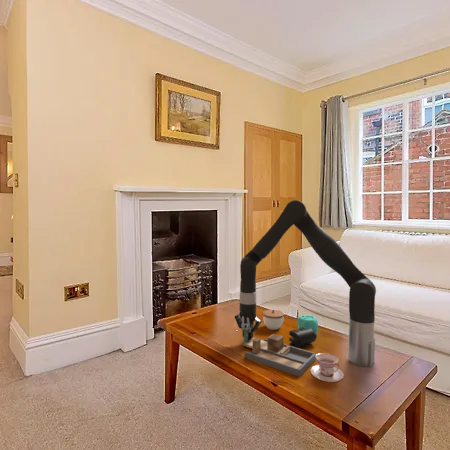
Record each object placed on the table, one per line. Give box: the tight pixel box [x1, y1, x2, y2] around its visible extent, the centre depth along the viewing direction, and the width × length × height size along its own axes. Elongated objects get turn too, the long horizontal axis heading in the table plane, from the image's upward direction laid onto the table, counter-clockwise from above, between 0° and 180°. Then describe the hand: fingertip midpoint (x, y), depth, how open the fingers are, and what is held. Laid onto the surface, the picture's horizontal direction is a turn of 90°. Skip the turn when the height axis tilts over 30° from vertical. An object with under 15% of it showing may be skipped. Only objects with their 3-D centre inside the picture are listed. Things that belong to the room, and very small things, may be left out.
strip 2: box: [252, 337, 302, 369], centre depth 126 cm, size 20×5×6 cm, turn 54°
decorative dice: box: [297, 314, 319, 335], centre depth 156 cm, size 8×8×8 cm
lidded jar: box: [262, 309, 285, 331], centre depth 163 cm, size 11×11×9 cm
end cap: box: [288, 327, 317, 348], centre depth 143 cm, size 10×7×7 cm
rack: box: [244, 338, 317, 377], centre depth 130 cm, size 24×17×2 cm
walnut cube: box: [266, 333, 284, 352], centre depth 135 cm, size 5×5×5 cm
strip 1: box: [240, 326, 291, 355], centre depth 138 cm, size 20×8×6 cm, turn 54°
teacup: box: [310, 352, 345, 383], centre depth 119 cm, size 12×12×6 cm
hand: (247, 338), depth 143 cm, fingers closed on strip 1, 2 cm apart
